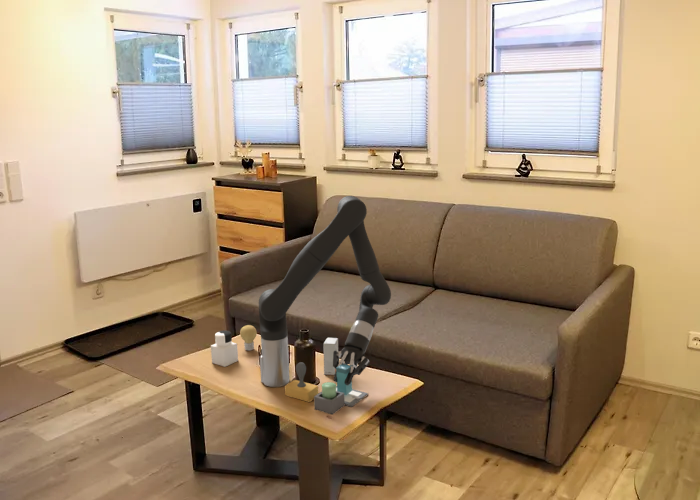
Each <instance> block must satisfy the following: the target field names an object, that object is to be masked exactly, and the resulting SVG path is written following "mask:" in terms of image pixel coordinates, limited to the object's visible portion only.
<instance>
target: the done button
mask: <svg viewBox="0 0 700 500" xmlns="http://www.w3.org/2000/svg"><path fill="white" fill-rule="evenodd" d="M336 386H337V383H336V382H335V383H334V382H331V381H328V382H324V383H322V385H321V392H322V397H323V398H326V399H330V400H332V399H333V398H335V397H336Z"/></svg>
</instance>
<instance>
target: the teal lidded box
mask: <svg viewBox="0 0 700 500" xmlns="http://www.w3.org/2000/svg"><path fill="white" fill-rule="evenodd" d="M350 368H351V367H350V364H348V365H346V364H341V365H339V366H338V367H336V372H337V382H336V386H337V391H339V392H342V393H344V395H347V394H348V393H350V392H351V391H352V389H353V380H352V381H351V383H350V384H349V385H346V384H345V383H344V382H345V379H346V377H347V375H348V373H349V370H350Z"/></svg>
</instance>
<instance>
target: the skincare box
mask: <svg viewBox="0 0 700 500" xmlns="http://www.w3.org/2000/svg"><path fill="white" fill-rule="evenodd" d="M322 346H323V348H322V349H323V375H330V376H331V375H332V376H334V375H335V373H336V369H335V368H334V367H333V352H334V351H337V352H338V351H339V338H337V337H327V338H326V339H325V341H324V342H323V345H322Z"/></svg>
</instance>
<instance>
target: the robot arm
mask: <svg viewBox="0 0 700 500" xmlns="http://www.w3.org/2000/svg"><path fill="white" fill-rule="evenodd" d="M367 213H368V211H367V206H366V204H365V203H364V202H363V201H362V200H361V199H360V198H359V197H357V196H353V195H346V196H344V197H342V198H341V199H340V200H339V202H338V204H337V213H336V215H335V216H334V217H333V219H332V220H331V221H330V223H329V224H328V225H327V226H326V227H325V228H324V229H323V230H322V231H320V232H319V233H318V234H317V235H315V236H314V237H313V238H312V239H310V240H309V241H308V242H307V244H306V245H304V247H303V248H302V249H301V250H300V251H299V253H298V254H297V255H296V257H295V258H294V260H293V261H292V263H291V265H290V267H289V269H288V271H287V273H286V275H285V277H284V278H283V280H282V281H281V282H280V283H279V284H278V285H277V287H276V288H270V289H269V288H268V289H267V290H264V291H263V292H262V293H261V294H260V296H259V298H258V316H259V317H258V318H259V331H260V343H261V344H260V345H261V346H260V347H261V355H260V356H259V366H260V367H259V369H260V382H261V383H263V385H265V386H266V387H270V388H279V387H280V388H281V387H283V386H284V387H285V386H286V385H287V384H289V383H290V382H291V381H290V357H289V339H288V337H289V336H288V323H287V316H286V315H287V312H288V311H289V310H290V307H291V306H292V304H293V303H294V302H295V300H296V299H297V297H298V296H299V294H301V293H302V291H304V289H305V288H306V287H307V286H308V284H309V283H310V282H311V281H312V280H314V278H315V277H316V276H317V275H318V273H319V272H320V271H321V270H322V269H323V268H324V266H325V265H326V264H327V263H328V261H329V260H330V259H331V257H333V255H334V254H335V252H336V251H337V250H338V249H339V248H340V246H341V244H342V243H343V242H344V241H345V239H347V237H349V240H350V244H351V247H352V251H353V255H354V258H355V261H356V262H355V263H356V266H357V269H358V273H359V276H360V278H361V280H362V281H363V282H367V283H369V284H368V285H366V286H364V288H363V289H362V290H361V294H360V299H359V309H358V313H357V315H356V318H355V319H354V322H353V324H352V326H351V328H350V330H349V332H348V334H347V337H346V340H345V342H344V346H343V348H342V349H341V350H340V351H339V350H338V352H337V351H334V352H333V367H334V368H335V369H336V367H338V366H339V365H341V364H346V365H350V367H351V368H350V370H349V373H348V375H347V377H346V379H345V382H344V383H345V384H346V385H349V384H350V383H351V381H352V382H353V379H354V377H355V375H357V376H360V375H361V374H362V373H363V372H364V370H366V368H367V367H368V366H369V364H370V362H371V361H370V360H369V359H368V357H366V356H365V353H366V351H367V349H368V347H369V344H370V341H371V340H372V336H373V333H374V329H375V327H376V324H377V321H378V319H379V312H378V311H377V310H376V309H375V308H374V306H375V305H376V306H385V305H387V304H389V303H390V301H391V298H392V291H391V288H390V286H389V284H388V282H387V281H386V279H385V277H384V275H383V274H382V272H381V270H380V267H379V264H378V260H377V259H378V258H377V257H376V254H375V251H374V249H373V245H372V244H371V242H370V238H369V236H368V233H367V230H366V227H365V218H366V217H367ZM333 382H335V383H337V372H336V373H335V375H333Z"/></svg>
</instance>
